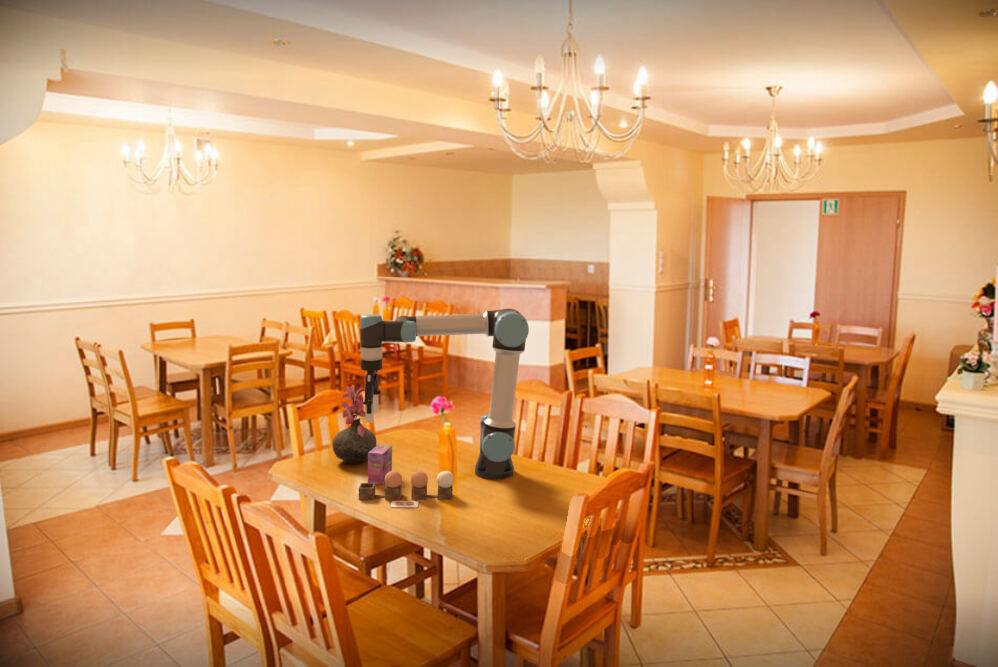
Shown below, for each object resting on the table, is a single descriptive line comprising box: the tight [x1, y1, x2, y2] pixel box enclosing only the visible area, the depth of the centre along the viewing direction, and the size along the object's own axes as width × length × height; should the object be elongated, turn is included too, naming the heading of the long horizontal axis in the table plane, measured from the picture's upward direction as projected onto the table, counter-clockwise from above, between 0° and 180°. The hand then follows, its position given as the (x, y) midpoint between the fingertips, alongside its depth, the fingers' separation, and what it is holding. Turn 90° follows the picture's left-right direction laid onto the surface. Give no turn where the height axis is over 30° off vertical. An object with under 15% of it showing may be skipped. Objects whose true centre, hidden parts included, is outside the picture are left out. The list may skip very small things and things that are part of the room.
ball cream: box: [436, 470, 455, 488], centre depth 228 cm, size 6×6×6 cm
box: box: [367, 443, 393, 485], centre depth 243 cm, size 10×6×12 cm, turn 168°
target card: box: [390, 500, 419, 509], centre depth 221 cm, size 9×5×1 cm, turn 93°
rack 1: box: [358, 482, 402, 501], centre depth 227 cm, size 14×5×4 cm, turn 93°
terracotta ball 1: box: [384, 470, 403, 488], centre depth 227 cm, size 6×6×6 cm
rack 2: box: [411, 484, 453, 501], centre depth 228 cm, size 14×5×4 cm, turn 93°
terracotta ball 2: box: [410, 470, 429, 488], centre depth 228 cm, size 6×6×6 cm
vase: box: [332, 386, 377, 465], centre depth 260 cm, size 17×17×30 cm
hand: (372, 417), depth 234 cm, fingers open, 13 cm apart
